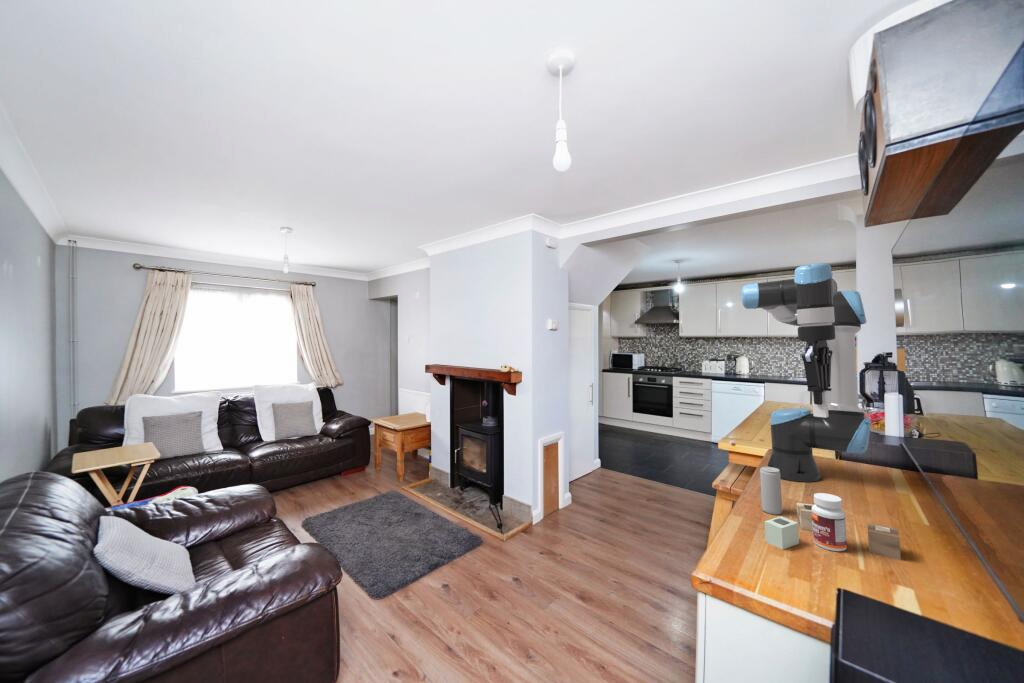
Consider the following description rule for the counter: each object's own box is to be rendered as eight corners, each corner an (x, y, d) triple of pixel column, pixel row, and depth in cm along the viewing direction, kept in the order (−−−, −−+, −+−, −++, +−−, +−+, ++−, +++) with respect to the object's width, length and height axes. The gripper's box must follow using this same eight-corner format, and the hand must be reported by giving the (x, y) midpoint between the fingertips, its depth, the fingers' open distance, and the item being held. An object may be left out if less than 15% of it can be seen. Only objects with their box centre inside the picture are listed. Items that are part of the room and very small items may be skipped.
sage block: (781, 536, 95) (780, 515, 95) (799, 543, 91) (798, 521, 91) (765, 542, 93) (764, 520, 93) (782, 549, 89) (781, 527, 89)
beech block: (797, 521, 102) (796, 502, 102) (821, 524, 100) (819, 504, 100) (801, 530, 97) (800, 509, 98) (826, 533, 95) (825, 512, 95)
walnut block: (868, 543, 90) (867, 521, 90) (898, 550, 86) (897, 527, 86) (869, 553, 86) (867, 529, 86) (900, 560, 83) (899, 536, 83)
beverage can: (785, 515, 105) (783, 472, 105) (766, 515, 106) (764, 471, 106) (777, 508, 110) (775, 466, 110) (758, 507, 111) (756, 466, 111)
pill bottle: (806, 541, 92) (804, 494, 92) (824, 536, 94) (822, 490, 94) (835, 554, 86) (832, 504, 86) (853, 549, 88) (851, 499, 88)
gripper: (808, 325, 105) (813, 410, 105) (787, 326, 98) (793, 418, 98) (843, 323, 99) (848, 414, 99) (823, 325, 91) (829, 423, 92)
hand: (820, 416), depth 98 cm, fingers closed
